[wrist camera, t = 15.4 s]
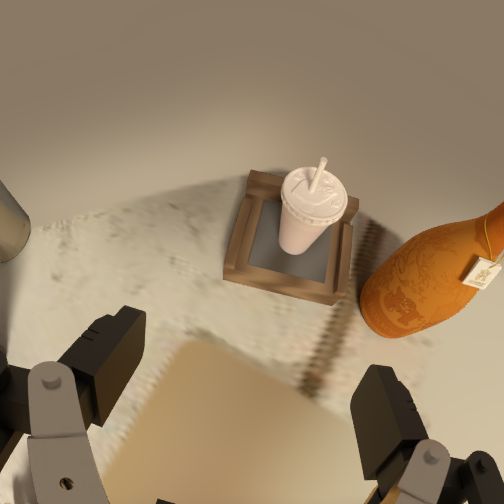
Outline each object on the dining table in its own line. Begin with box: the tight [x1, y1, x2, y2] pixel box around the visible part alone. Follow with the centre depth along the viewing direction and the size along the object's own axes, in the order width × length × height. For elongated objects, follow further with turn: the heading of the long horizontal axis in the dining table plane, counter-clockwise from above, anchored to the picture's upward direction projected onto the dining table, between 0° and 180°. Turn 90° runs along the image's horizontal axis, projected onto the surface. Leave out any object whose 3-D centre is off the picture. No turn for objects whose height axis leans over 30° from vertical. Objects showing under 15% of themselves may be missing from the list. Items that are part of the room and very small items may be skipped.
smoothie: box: [278, 157, 348, 255], centre depth 30 cm, size 6×6×14 cm
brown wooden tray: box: [223, 170, 359, 306], centre depth 37 cm, size 14×12×7 cm
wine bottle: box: [360, 202, 504, 338], centre depth 25 cm, size 10×10×30 cm
